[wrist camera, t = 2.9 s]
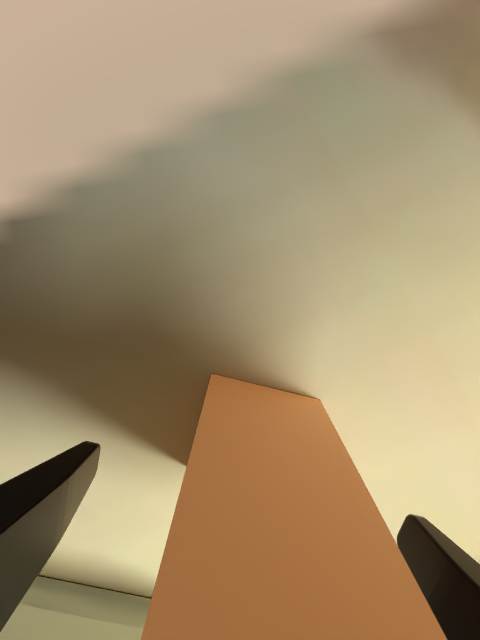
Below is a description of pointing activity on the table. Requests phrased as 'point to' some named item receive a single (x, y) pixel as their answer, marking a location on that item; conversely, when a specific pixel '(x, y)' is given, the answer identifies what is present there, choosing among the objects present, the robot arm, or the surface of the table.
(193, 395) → the table surface
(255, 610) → the tan rectangular prism
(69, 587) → the walled crate
